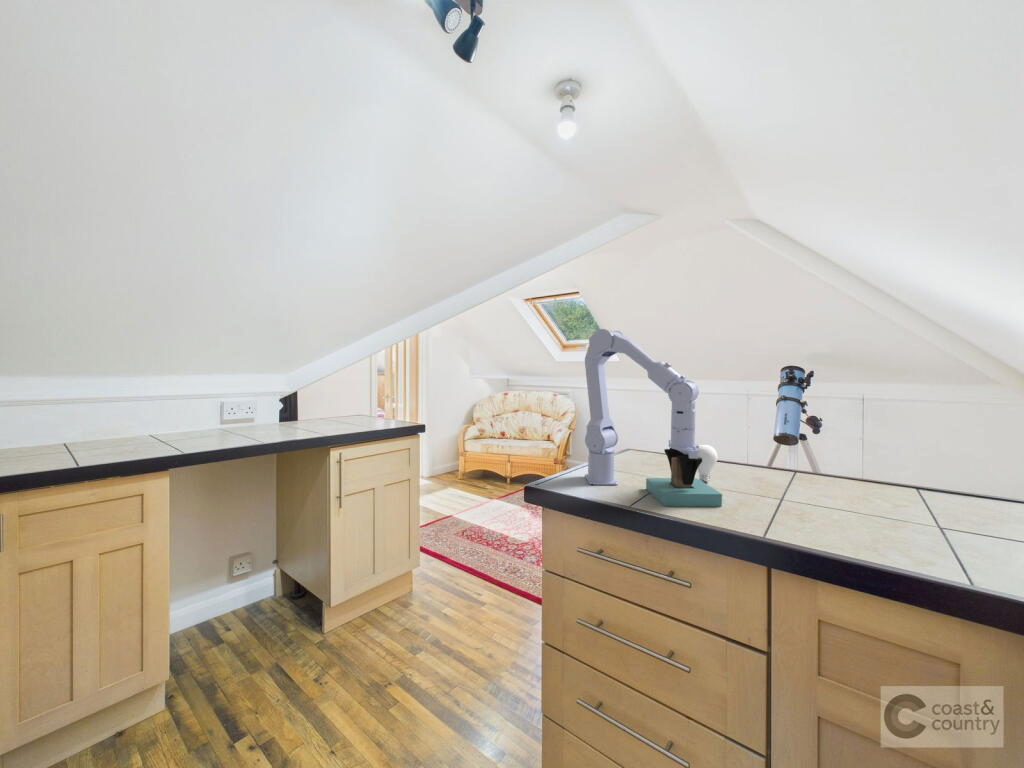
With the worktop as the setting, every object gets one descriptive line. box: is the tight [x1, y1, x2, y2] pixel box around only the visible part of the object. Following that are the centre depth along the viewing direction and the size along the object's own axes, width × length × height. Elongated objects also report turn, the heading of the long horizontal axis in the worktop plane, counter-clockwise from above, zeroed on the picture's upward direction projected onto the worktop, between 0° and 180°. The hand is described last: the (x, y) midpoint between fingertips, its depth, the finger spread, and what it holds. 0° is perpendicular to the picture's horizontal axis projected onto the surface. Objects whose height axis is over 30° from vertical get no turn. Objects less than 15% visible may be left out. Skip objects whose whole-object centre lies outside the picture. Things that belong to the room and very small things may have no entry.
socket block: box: [645, 477, 723, 507], centre depth 109 cm, size 14×14×3 cm
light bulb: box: [696, 444, 719, 483], centre depth 122 cm, size 7×7×11 cm
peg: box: [670, 457, 690, 488], centre depth 108 cm, size 4×4×10 cm
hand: (681, 480), depth 108 cm, fingers open, 7 cm apart
